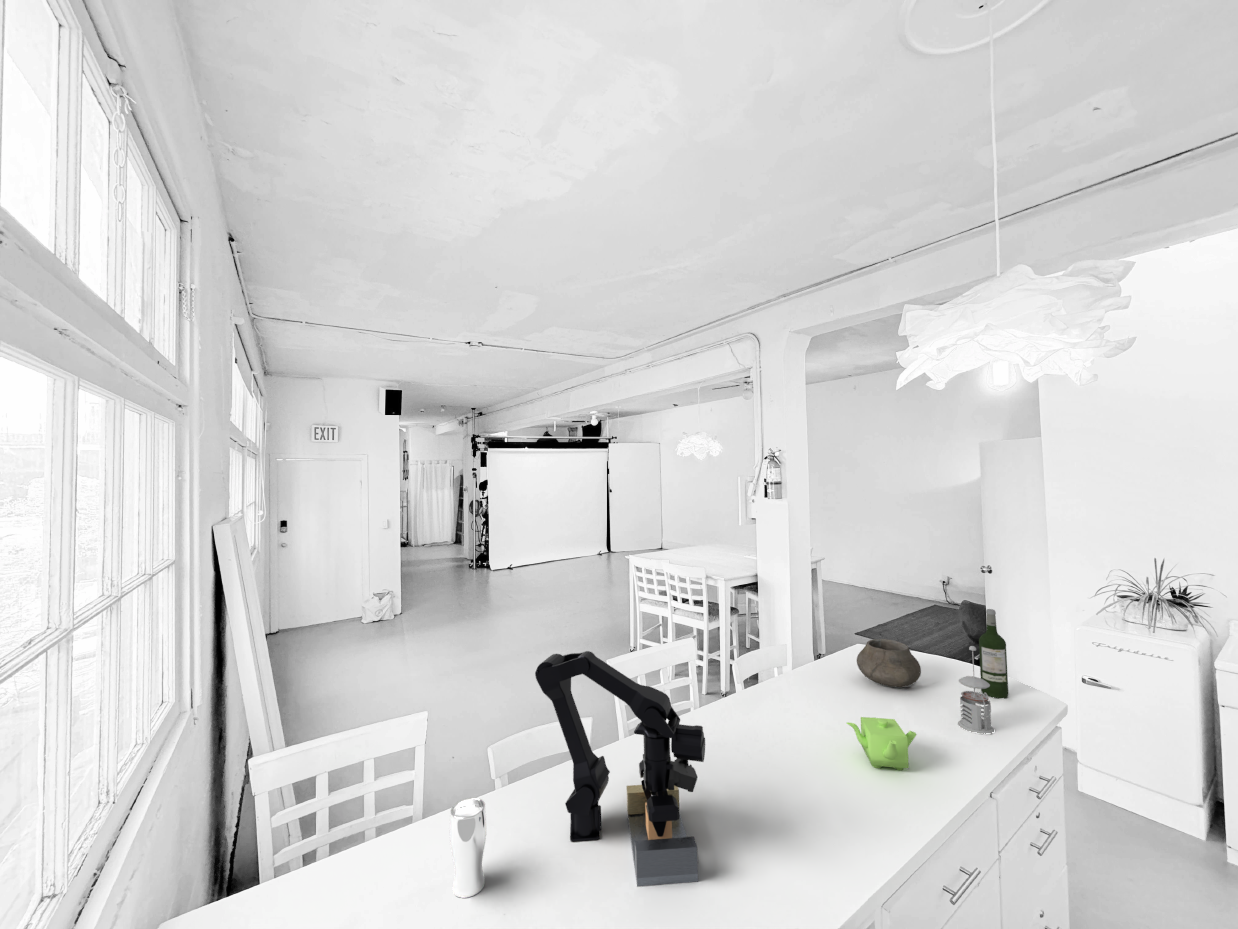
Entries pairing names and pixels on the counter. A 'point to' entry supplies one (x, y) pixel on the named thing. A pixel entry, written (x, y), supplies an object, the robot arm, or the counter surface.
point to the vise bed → (642, 835)
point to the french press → (969, 707)
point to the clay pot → (888, 663)
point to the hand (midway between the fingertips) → (658, 828)
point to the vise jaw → (642, 798)
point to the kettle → (884, 742)
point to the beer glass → (468, 846)
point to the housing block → (652, 832)
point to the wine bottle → (993, 659)
